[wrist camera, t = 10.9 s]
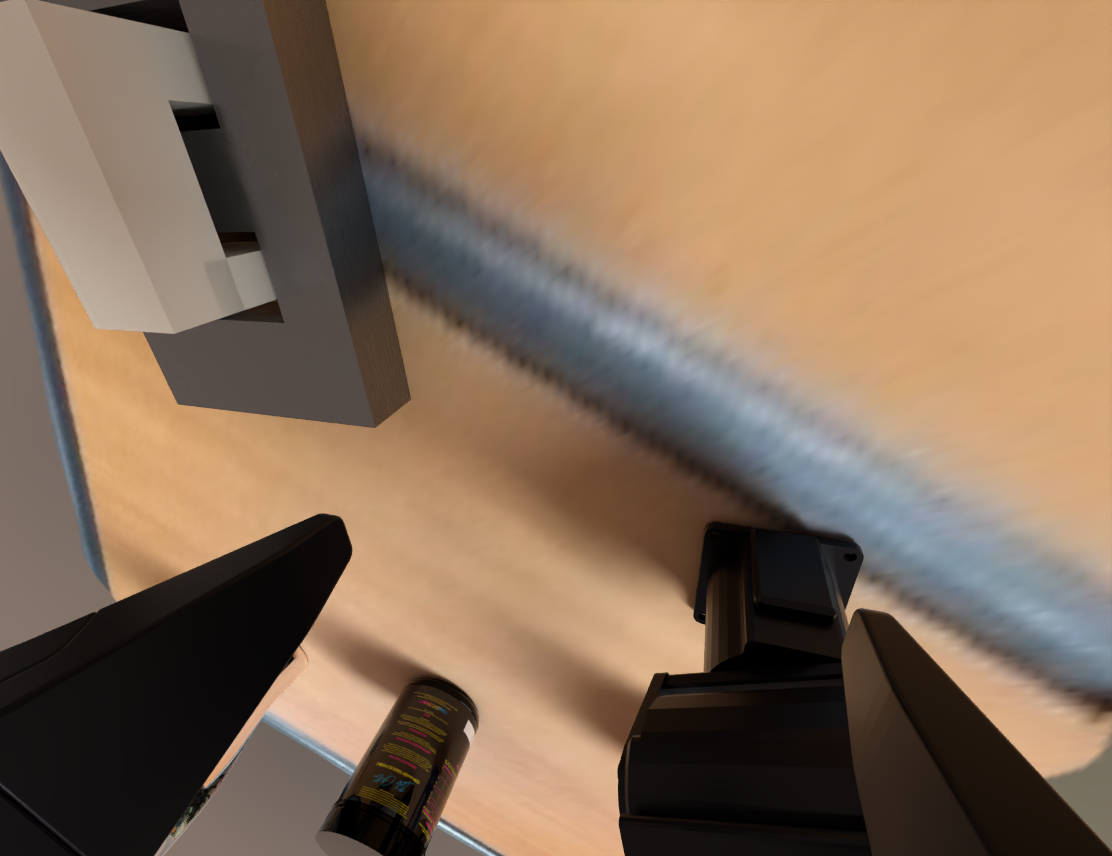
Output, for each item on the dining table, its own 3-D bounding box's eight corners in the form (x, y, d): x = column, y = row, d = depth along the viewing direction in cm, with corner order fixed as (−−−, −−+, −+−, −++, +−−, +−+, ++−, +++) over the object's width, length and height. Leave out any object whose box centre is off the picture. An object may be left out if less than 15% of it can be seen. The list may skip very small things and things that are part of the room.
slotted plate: (410, 399, 24) (375, 428, 22) (227, 381, 28) (177, 404, 25) (281, -201, 14) (190, -274, 12) (20, -118, 18) (-94, -161, 15)
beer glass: (286, 621, 39) (86, 840, 27) (326, 677, 42) (161, 898, 30) (230, 618, 42) (23, 815, 30) (271, 670, 45) (98, 871, 32)
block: (315, 286, 23) (174, 333, 17) (248, 284, 24) (94, 328, 18) (246, 45, 18) (23, -3, 12) (167, 56, 19) (-70, 17, 14)
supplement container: (394, 667, 38) (297, 820, 29) (469, 680, 36) (388, 850, 27) (421, 719, 41) (340, 872, 32) (492, 734, 39) (426, 903, 30)
